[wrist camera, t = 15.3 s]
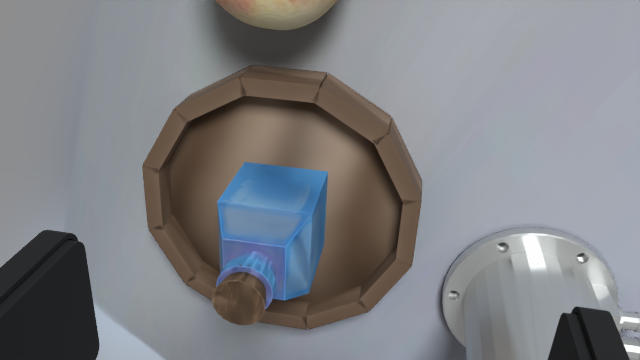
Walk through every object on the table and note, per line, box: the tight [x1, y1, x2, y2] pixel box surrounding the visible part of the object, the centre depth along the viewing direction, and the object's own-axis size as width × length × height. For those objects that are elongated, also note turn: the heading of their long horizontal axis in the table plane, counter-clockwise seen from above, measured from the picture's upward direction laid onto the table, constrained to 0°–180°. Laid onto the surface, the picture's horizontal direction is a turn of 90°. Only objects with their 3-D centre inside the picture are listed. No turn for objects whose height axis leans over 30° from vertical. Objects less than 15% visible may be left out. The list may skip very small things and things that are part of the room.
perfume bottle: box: [212, 162, 328, 325], centre depth 39 cm, size 6×6×12 cm
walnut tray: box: [142, 65, 422, 330], centre depth 44 cm, size 20×20×3 cm
